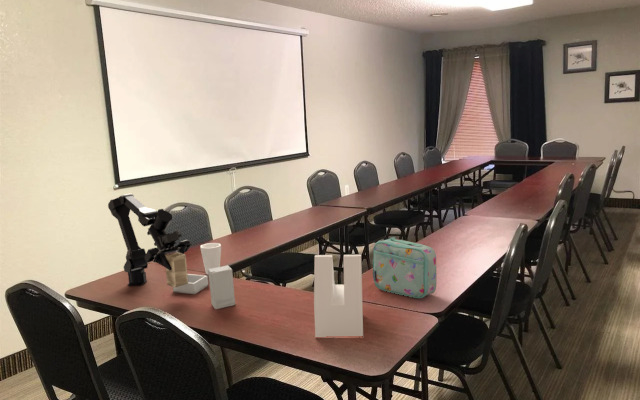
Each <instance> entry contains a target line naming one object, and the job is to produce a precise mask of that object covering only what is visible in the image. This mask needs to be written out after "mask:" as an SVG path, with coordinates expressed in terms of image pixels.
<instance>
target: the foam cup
mask: <svg viewBox="0 0 640 400" xmlns="http://www.w3.org/2000/svg"><path fill="white" fill-rule="evenodd" d="M200 253H201V258H202V262H203V267H204V270H205V271H204V272H205V274H206V276H209V275H208V269H212V268H217V267H221V254H222V244H221V243H219V242H209V243H204V244H201V245H200Z"/></svg>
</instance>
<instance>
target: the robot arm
mask: <svg viewBox="0 0 640 400" xmlns="http://www.w3.org/2000/svg"><path fill="white" fill-rule="evenodd" d="M107 207H108V209H109V211H110V213H111V216H113V217H114V218H115V219H116V220H117V221H118V225H119V228H120V232H121V234H122V238H123V241H124V244H125V246H126V250H127V252H126V255H125V260H126V261H125V263H124V265H123V270H124V272H125V273H127V275H128V276H127V277H128V283H127V286H142V285H143V284H145V283H146V282H147V281H148V279H147V274H146V271H145V270H146V269H148V267H149V266H148V264H149V263H150V262H151V263H152V262H153V263H156V264H159V265H161V266H162V267H164V268H165V269H166V268H167V269H169V270H172V268H171V266H170V264H169V262H168V261H167V259H166V257H165V256H166V255H167V254H169V253H172V252H173V253H174V252H175V253H177V252H178V253H182V254H185V253H186V252H188V251H189V249H190V247H191V246H192V242H191V240H189V239H184V240H181V241H180V238H182V236H183V234H182V233H181V231H180V229H175V230H174V231H173V232H169V233H167V231H166V229H168V227H169V225H170V224H171V223H172V220H173V215H172V213H171V212H169V211H167V210H164V208H158V210H156V209H154V208H150V207H147V206H145V205H144V204H143V203H142V202H141V201H139V200H138V199H137V198H136V197H135V195H134V194H133V193H126V194H125V193H124V194H121V195H120V196H119V197H116V198H114V199H110V200H109V202H108V205H107ZM130 212H132V213H134V214H135V215H136V216H137V220H138V222H139V223H140V225H141V226H142V227H148V226H149V227H148V228H147V230H148V231H147V236H151V237H152V239H153V241H154V242H153V245H154V247H152V248H149V249H147V251H146V250H145V248H141V247H140V245H139V243H138V239H137V237H136V234H135V230H134V227H133V224H132V222H131V219H130V214H131V213H130ZM177 241H179V243H178V244H177ZM176 244H177V245H176Z"/></svg>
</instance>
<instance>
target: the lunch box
mask: <svg viewBox="0 0 640 400" xmlns="http://www.w3.org/2000/svg"><path fill="white" fill-rule="evenodd" d="M372 253H373V254H372V255H373V257H372V261H371V266H372V279H373V283H374V285H375V287H376V288H377V289H379V290H381V291H383V292H386V291H387V293H390V292H391V293H390V294H394V293H395V295H398V294H399V295H400V296H403V295H404V297H407V296H409V297H408V298H412V297H413V299H423V298H425V297H426V296H428V295H432V294H434V293H435V292H436V289H437V253H436V251H435V249H434V248H433V247H430V246H428V245H424V244H422V243H418V242H412V241H408V240H404V239H396V237H395V236H392V237H389V239H388V238H387V239H384V240H378V241H377V242H375V244H374V246H373V249H372ZM399 295H398V296H399Z"/></svg>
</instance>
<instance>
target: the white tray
mask: <svg viewBox="0 0 640 400" xmlns="http://www.w3.org/2000/svg"><path fill="white" fill-rule="evenodd" d="M187 277H188V284H185V285H182V286H179V287H172V290H173V293H177V294H178V293H180V294H189V295H196V294H197V293H199V292H201V291H202V290H204V289H205V288H207V287H208V286H209V275H205V274H204V275H203V274H193V273H187Z"/></svg>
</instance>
